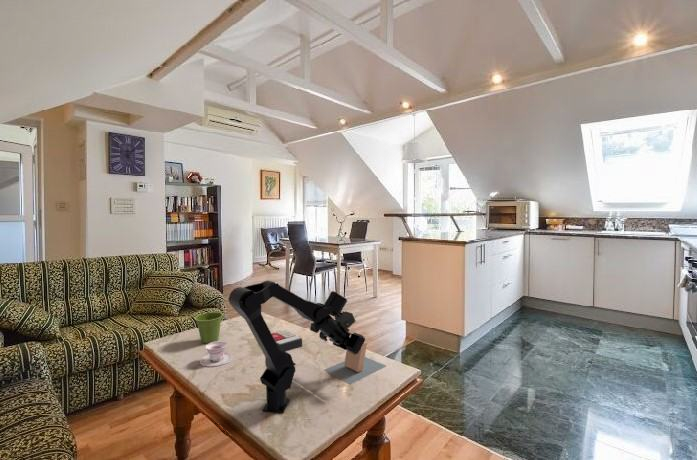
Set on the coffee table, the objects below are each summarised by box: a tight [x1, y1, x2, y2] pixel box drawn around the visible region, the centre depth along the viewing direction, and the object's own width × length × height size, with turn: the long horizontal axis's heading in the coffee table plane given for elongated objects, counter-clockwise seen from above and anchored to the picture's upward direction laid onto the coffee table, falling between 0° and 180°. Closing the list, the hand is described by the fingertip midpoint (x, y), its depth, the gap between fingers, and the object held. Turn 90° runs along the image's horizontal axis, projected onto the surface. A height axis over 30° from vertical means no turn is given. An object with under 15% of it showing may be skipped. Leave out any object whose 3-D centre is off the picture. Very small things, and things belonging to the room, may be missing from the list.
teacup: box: [199, 340, 233, 368], centre depth 134 cm, size 12×12×6 cm
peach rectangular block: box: [344, 341, 368, 372], centre depth 125 cm, size 3×7×10 cm, turn 44°
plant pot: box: [194, 311, 224, 344], centre depth 153 cm, size 12×12×11 cm
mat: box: [324, 356, 387, 385], centre depth 125 cm, size 18×14×1 cm
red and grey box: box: [271, 329, 303, 352], centre depth 149 cm, size 11×4×15 cm
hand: (353, 348), depth 124 cm, fingers closed
